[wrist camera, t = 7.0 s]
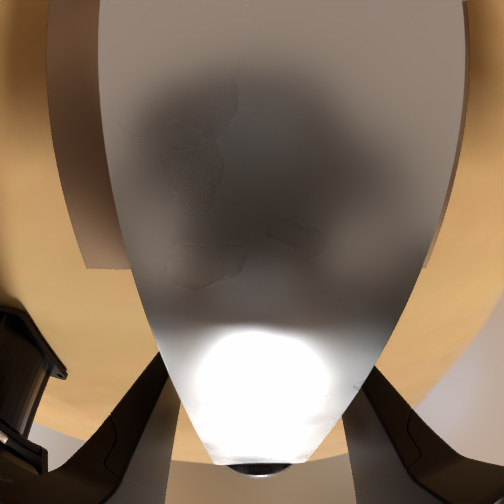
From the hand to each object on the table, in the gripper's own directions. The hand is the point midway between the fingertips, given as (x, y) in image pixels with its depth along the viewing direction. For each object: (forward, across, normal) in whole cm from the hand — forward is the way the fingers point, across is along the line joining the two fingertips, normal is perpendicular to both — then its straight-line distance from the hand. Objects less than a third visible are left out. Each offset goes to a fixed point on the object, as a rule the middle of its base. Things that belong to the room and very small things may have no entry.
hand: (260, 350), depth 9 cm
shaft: (0, 0, -6) cm, 6 cm away
